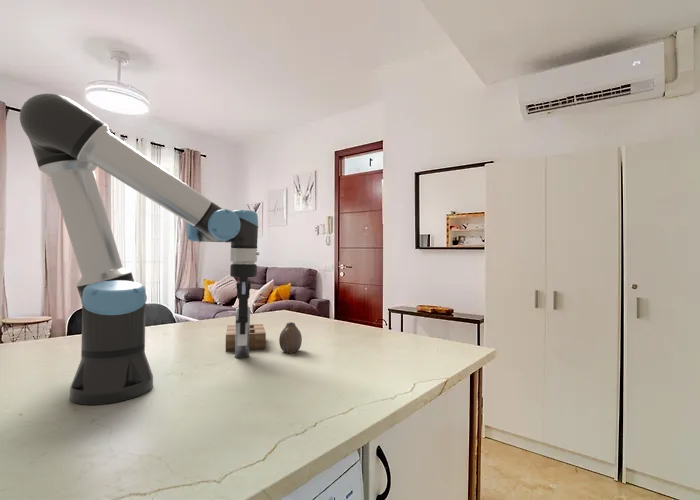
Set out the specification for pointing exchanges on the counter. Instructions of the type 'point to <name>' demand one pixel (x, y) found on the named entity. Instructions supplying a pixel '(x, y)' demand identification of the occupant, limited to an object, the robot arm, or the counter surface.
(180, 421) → the counter surface
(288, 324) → the vase
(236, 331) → the steel pin
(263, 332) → the bore block
